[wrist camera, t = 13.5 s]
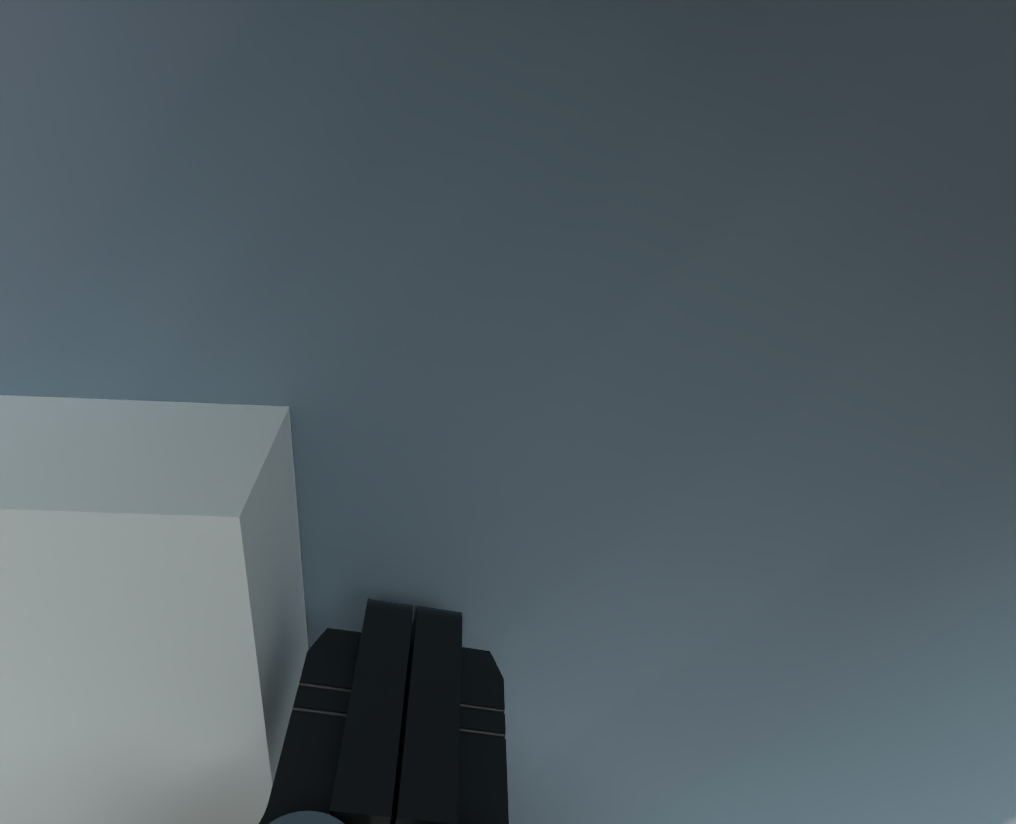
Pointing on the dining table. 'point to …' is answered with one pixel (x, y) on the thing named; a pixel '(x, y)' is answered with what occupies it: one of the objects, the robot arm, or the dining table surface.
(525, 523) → the dining table surface
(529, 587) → the dining table surface
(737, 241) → the dining table surface
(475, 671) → the robot arm
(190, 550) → the pale grey tile
